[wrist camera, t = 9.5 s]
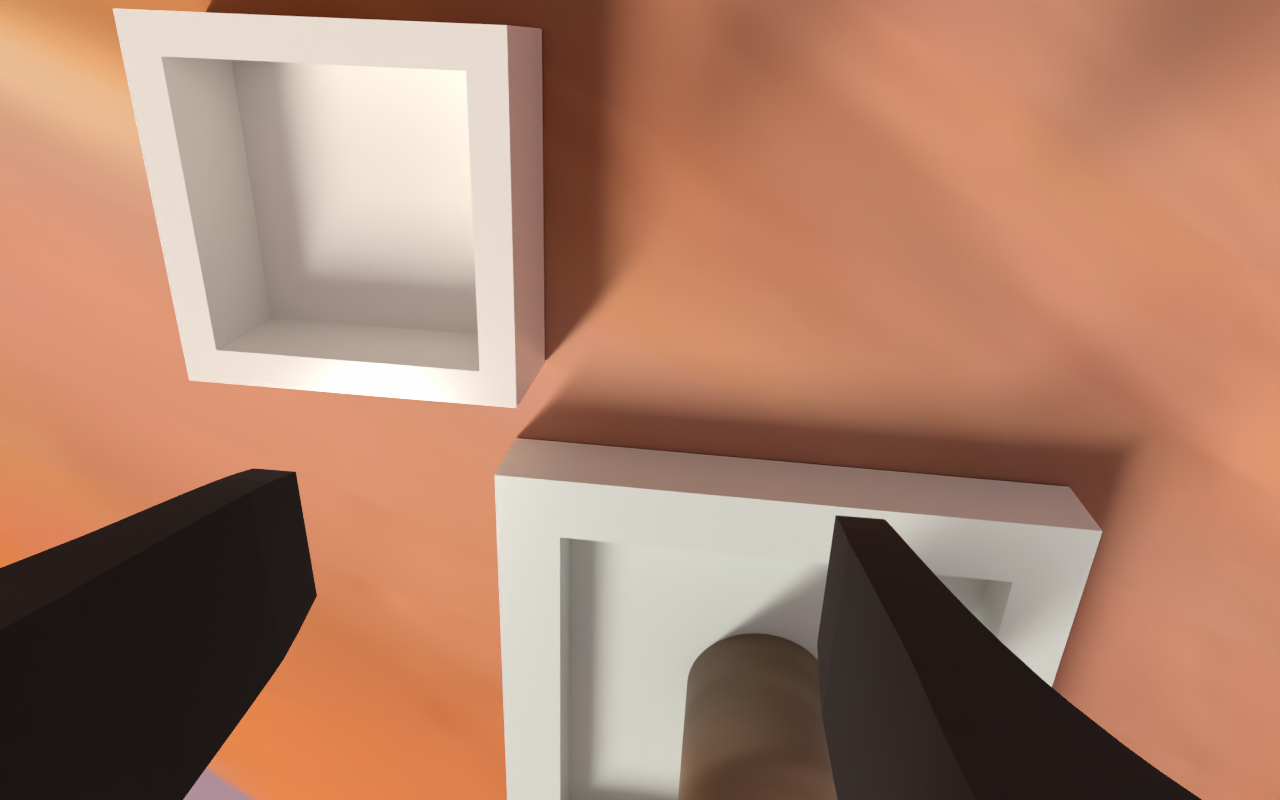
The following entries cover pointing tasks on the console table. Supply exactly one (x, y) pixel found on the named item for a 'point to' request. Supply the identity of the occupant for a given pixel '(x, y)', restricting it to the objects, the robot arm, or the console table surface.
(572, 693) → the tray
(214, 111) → the white square open box
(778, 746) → the dowel
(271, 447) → the console table surface
